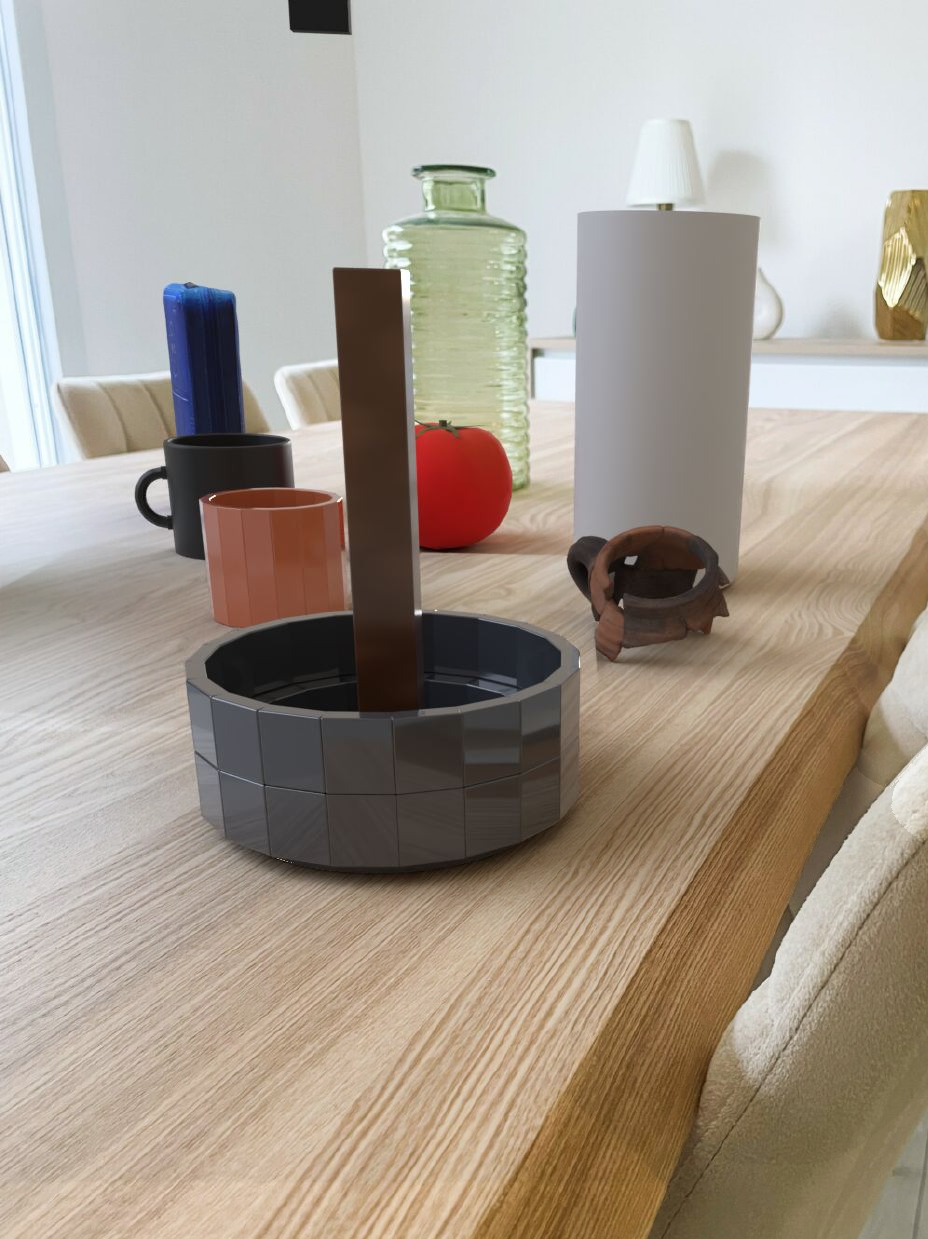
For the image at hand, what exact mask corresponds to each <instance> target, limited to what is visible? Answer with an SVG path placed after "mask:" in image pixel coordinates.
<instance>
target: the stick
mask: <svg viewBox="0 0 928 1239" xmlns="http://www.w3.org/2000/svg"><path fill="white" fill-rule="evenodd" d="M331 271H332V286H333V288H332V289H333V305H334V306H333V307H334V319H335V337H336V338H335V339H336V354H337V356H336V357H337V370H338V372H337V373H338V388H339V403H340V404H339V405H340V406H339V408H340V421H341V437H342V438H341V439H342V456H343V471H344V472H343V474H344V489H345V491H344V492H345V505H346V506H345V507H346V521H347V538H348V540H347V541H348V555H349V557H348V558H349V570H350V571H349V572H350V591H351V605H352V606H351V609H352V611H353V625H354V642H355V659H356V675H357V692H358V709H359V712H400V711H411V710H423V709H425V690H424V662H423V635H422V609H423V608H422V585H421V582H422V581H421V557H420V546H419V526H418V499H417V471H416V444H415V426H416V422H415V420H416V419H415V418H416V417H415V397H414V396H415V394H414V393H415V391H414V368H413V367H414V366H413V362H414V361H413V337H412V313H411V312H412V311H411V310H412V309H411V285H410V284H411V282H410V271H409V270H408V269H403V268H381V267H380V268H377V267H344V266H343V267H342V266H339V267H338V266H334V267H332V270H331Z"/></svg>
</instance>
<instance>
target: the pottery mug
mask: <svg viewBox="0 0 928 1239" xmlns="http://www.w3.org/2000/svg"><path fill="white" fill-rule="evenodd" d="M634 556H637V559H636V561H635V563H634V565H631V564H625V560H626V558H627V557H634ZM718 563H719V556H718V554H717V552H716V551H715V550H714V549H713V548H712V547H711V546H710V545H709V544H708V543H707V542H706V541H705V540H704V539H702V538H701V537H699V536H697V535H693V534H692V533H690V532H688V531H686V530H683V529H679V528H676V527H670V526H664V527H662V526H661V525H652V526H643V527H637V528H633V529H630V530H628V531H625V532H623V533H620V534H618V535H617V536H615V537H613V538H612V539H611V540H609V541H607V540H606V539H604V538H601V537H597V536H583V537H581V538H580V539H578V540H577V542H576V543H574V544H571V546H569V549H568V552H567V555H566V566H567V569H568V572H569V575H570V578H571V579H572V580H573V582H574V584H575V586H577V588H578V590H579V591H580V593H581V594H582V595H583V596H584V598H585V599H586V600H587V601H588V602H589V603H590V610H591V613H592V616H593V618H594V621H595V622H598V624H597V628H596V633H595V634H594V637H593V639H594V642H595V649H596V650H597V651H598V652H599V653H600V654H602V656H605V657H606V658H607V659H608V660H610V661H611V662H614V661H616V659H617V658H618V656H619V655H620V653H621V652H622V649H626V650H629V649H635V648H641V647H648V646H652V645H659V644H664V643H669V642H675V641H682V640H684V639H686V638H687V637H688V634H689V633H688V632H689V631H691V632H694V633H695V632H698V631H700V632H702V633H703V634H704V635H710V634H711V632H712V628H713V623H714V619H715V618H717V617H721V618H728V617H729V616H730V612H729V609H728V604H727V601H726V598H725V595H724V593H723V591H722V589H720V587H719V585H720V586H724V585H726V584H730V581H729V579H728V577H727V576H726V574H725V573H724V572H723V570H722V569H721V568H720V567H719V566H718ZM704 568H705V575H704V577H703V578H702V579H701V580H700V582H699V583H698V584H697V585H696V586H695V587H693V584H694V582H695V578H696V575H697V572H698V569H699V570H700V569H704ZM730 585H731V584H730ZM621 600H622V607H621V606H620V602H621Z"/></svg>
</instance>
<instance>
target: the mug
mask: <svg viewBox="0 0 928 1239" xmlns="http://www.w3.org/2000/svg"><path fill="white" fill-rule="evenodd" d="M162 447H163V456H164V464H165V465H161V466H159V467H153V468H150V469H148V470H147V471H145V472H144V473H143V474H142V475H141V476H140V477H139V478H138V480H137V482H136V484H135V486H134V501H135V505H136V508H137V510H138V512H139V513H140V514H141V515H142V517H143V518H144V519H145V520H146V521H147V522H149V523H151V524H152V525H153V526H156V527H159V528H164V529H167V530H168V531H171V530H172V532H173V541H174V549H175V553H176V554H177V555H179V556H181V557H184V558H188V559H192V560H199V561H206V560H205V550H204V541H203V532H202V522H201V513H200V504H199V499H200V498H202V497H204V496H206V495H208V494H212V493H217V492H222V491H229V490H239V489H250V488H296V486H295V484H296V483H295V470H294V459H293V458H294V457H293V446H292V440H291V439H290V438H289V437H285V436H282V435H276V434H268V433H267V434H266V433H265V434H264V433H250V432H249V433H212V434H194V435H184V436H177V435H176V436H172V437H168V438H166V439H164V440H163V442H162ZM157 480H162V481H163V480H164V481H165V480H166V482H167V489H168V498H169V499H168V500H169V507H170V514H167V515H166V516H165V515H162V514H159V513H157V512H156V511H155V510H154V509H153V508H152V507H151V506H150V504H149V502H148V498H147V492H148V488H149V487H150V485H152V483H154V482H155V481H157Z"/></svg>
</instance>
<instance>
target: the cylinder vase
mask: <svg viewBox="0 0 928 1239" xmlns="http://www.w3.org/2000/svg"><path fill="white" fill-rule="evenodd" d="M576 216H577V218H576V221H577V223H576V227H577V228H576V292H575V293H576V296H575V297H576V298H575V299H576V302H575V305H576V306H575V317H576V318H575V377H574V378H575V380H574V381H575V384H574V386H575V387H574V390H575V391H574V464H573V465H574V466H573V468H574V470H573V471H574V472H573V537H572V538H573V540H572V542H573V544H574V543H576V542H577V540H578V539H580V538H581V537H583V536H597V537H601V538H604V539H606V540H607V541H609V540H611V539H612V538H613V537H615V536H617V535H618V534H620V533H623V532H625V531H628V530H630V529H633V528H637V527H643V526H652V525H661V526H662V527H664V526H670V527H676V528H679V529H683V530H686V531H688V532H690V533H692V534H693V535H697V536H699V537H701V538H702V539H704V540H705V541H706V542H707V543H708V544H709V545H710V546H711V547H712V548H713V549H714V550H715V551H716V552H717V554H718V556H719V563H718V566H719V567H720V568H721V569H722V570H723V572H724V573H725V574H726V576H727V577H728V579H729V581H730V584H726V585H724V586H720V585H719V587H720V589H721V590H722V589H725V588H726V587H729V586H730V585H731V584H732V583H733V582H734V581H735V580H736V578H737V576H738V570H739V558H740V557H739V556H740V544H741V543H740V542H741V529H742V528H741V527H742V513H743V511H742V510H743V497H744V482H745V468H746V454H747V453H746V452H747V451H746V450H747V437H748V435H747V434H748V422H749V408H750V407H749V406H750V405H749V404H750V392H751V377H752V361H753V346H754V330H755V316H756V300H757V285H758V271H759V256H760V255H759V254H760V240H761V228H762V227H761V225H762V217H761V216H758V215H753V214H744V213H733V212H717V211H716V212H715V211H694V210H664V209H663V210H662V209H659V210H656V209H654V210H653V209H651V210H650V209H621V210H618V209H616V210H615V209H614V210H613V209H611V210H589V211H588V210H587V211H581V212H577V214H576ZM573 544H572V545H573ZM636 559H637V556H634V557H627V558H626V560H625V564H631V565H634V563H635V561H636ZM704 575H705V568H704V569H700V570H699V569H698V572H697V575H696V578H695V582H694V584H693V587H695V586H696V585H697V584H698V583H699V582H700V580H701V579H702V578H703V577H704Z"/></svg>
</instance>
